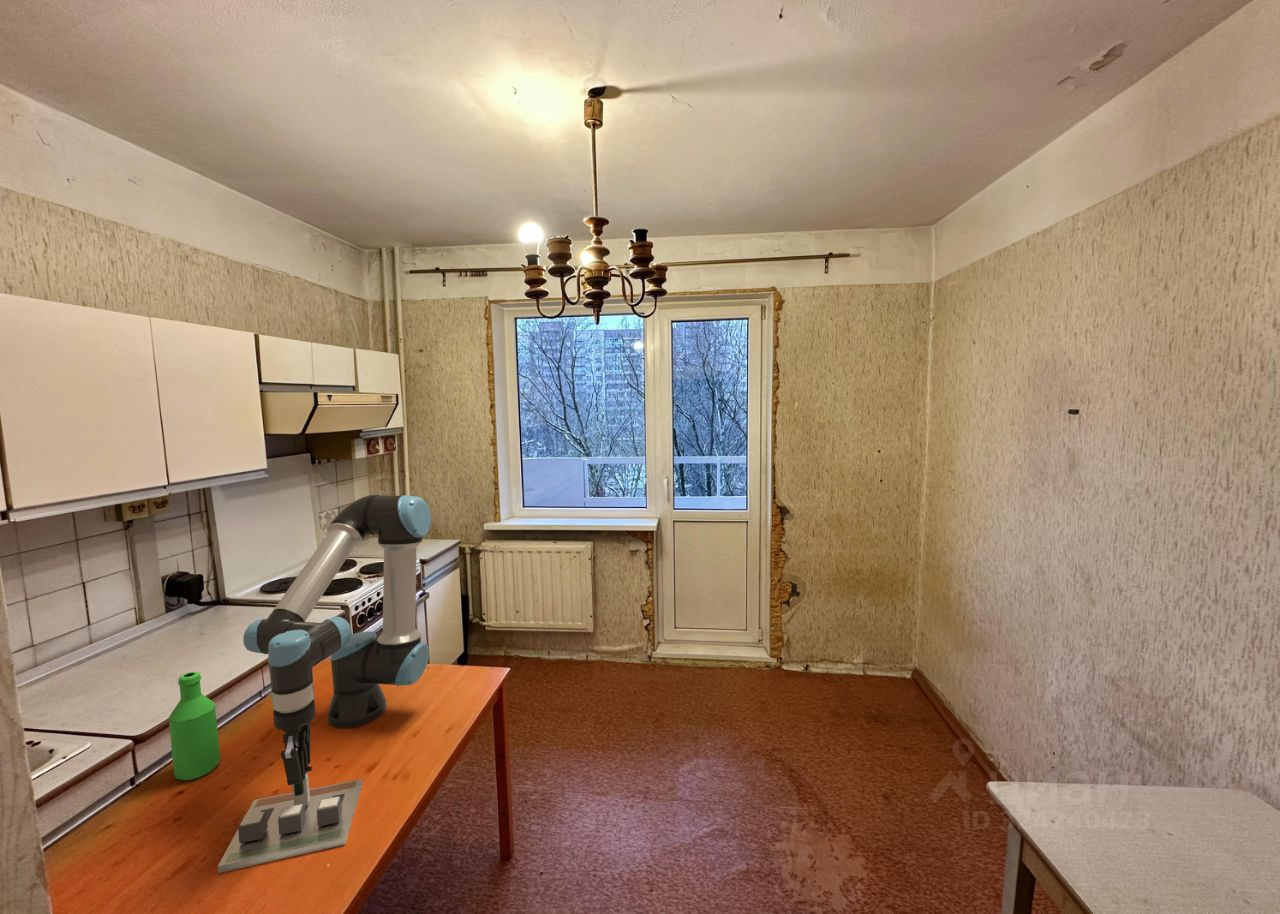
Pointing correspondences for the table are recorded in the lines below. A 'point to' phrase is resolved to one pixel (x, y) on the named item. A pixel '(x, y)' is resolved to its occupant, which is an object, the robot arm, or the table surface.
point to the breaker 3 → (329, 811)
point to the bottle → (193, 731)
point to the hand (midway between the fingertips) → (302, 803)
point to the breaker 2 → (291, 819)
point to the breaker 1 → (252, 827)
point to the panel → (297, 841)
